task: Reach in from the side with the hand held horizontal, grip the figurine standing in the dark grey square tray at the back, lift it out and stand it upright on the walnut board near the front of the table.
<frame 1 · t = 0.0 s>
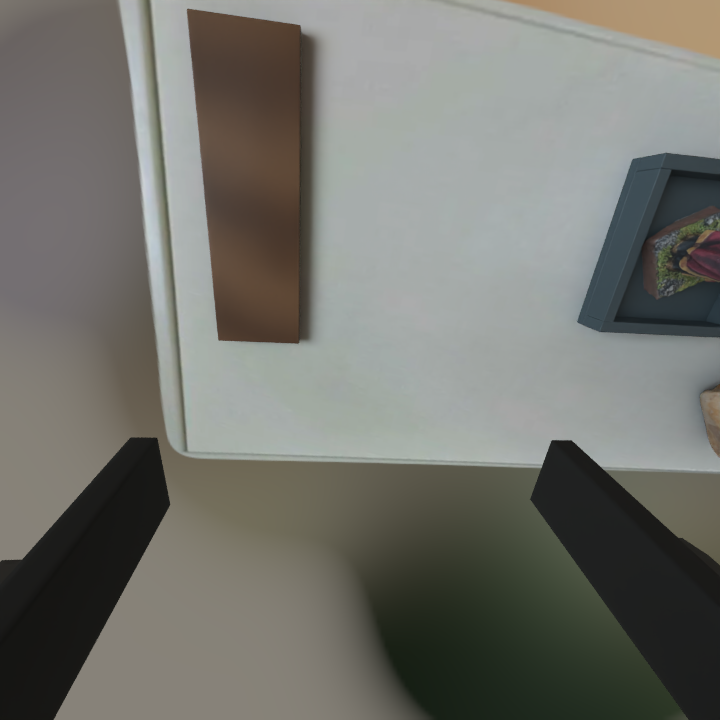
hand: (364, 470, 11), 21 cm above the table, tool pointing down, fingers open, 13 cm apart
dark grey square tray: (670, 253, 31), on the table
board: (255, 207, 26), on the table
figurine: (676, 254, 30), point 1 cm above the table, touching dark grey square tray
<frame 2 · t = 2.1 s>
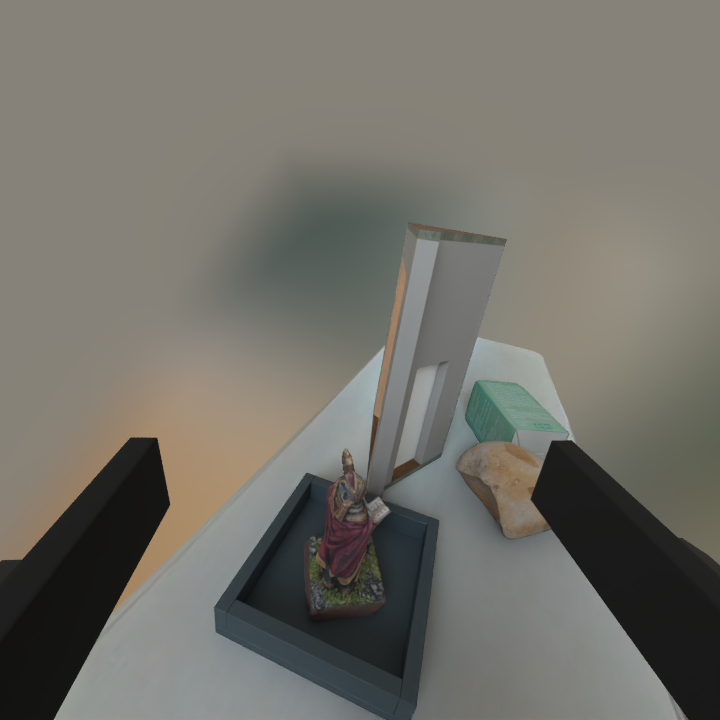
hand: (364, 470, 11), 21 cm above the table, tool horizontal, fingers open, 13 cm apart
dark grey square tray: (341, 579, 28), on the table
cabinet: (405, 454, 45), on the table
figurine: (342, 575, 28), point 1 cm above the table, touching dark grey square tray
stone: (508, 510, 38), on the table
box: (500, 444, 50), on the table
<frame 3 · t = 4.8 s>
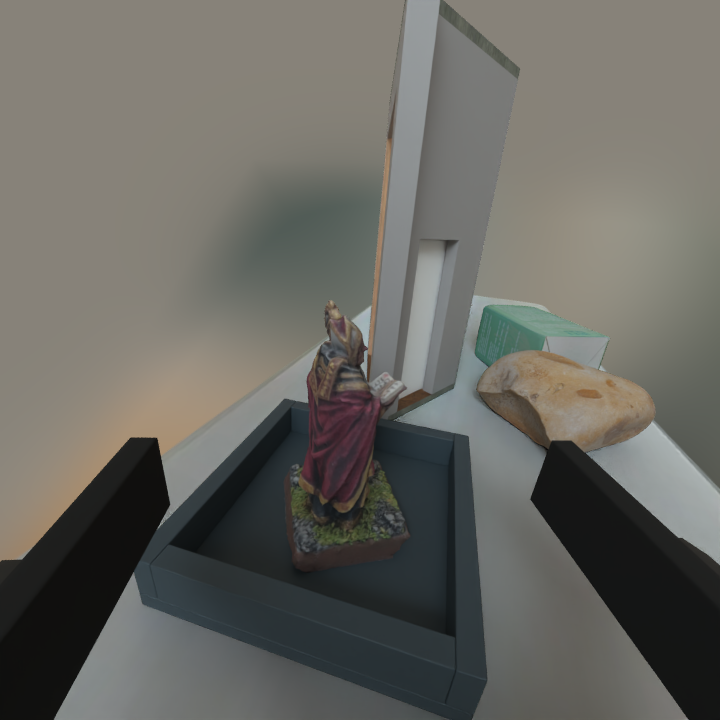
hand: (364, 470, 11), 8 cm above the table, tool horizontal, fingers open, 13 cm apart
dark grey square tray: (340, 520, 20), on the table
cabinet: (410, 388, 36), on the table
figurine: (341, 512, 19), point 1 cm above the table, touching dark grey square tray
stone: (548, 433, 30), on the table
box: (521, 375, 42), on the table
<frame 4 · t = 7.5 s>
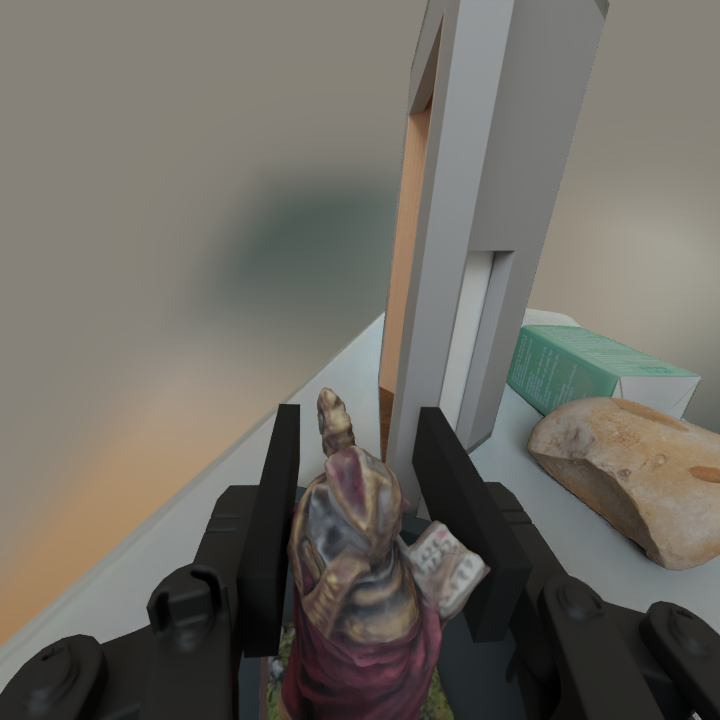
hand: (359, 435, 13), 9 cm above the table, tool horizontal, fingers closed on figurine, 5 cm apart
cabinet: (436, 437, 28), on the table
figurine: (355, 718, 11), point 1 cm above the table, touching dark grey square tray, gripper
stone: (630, 513, 22), on the table
box: (569, 414, 34), on the table
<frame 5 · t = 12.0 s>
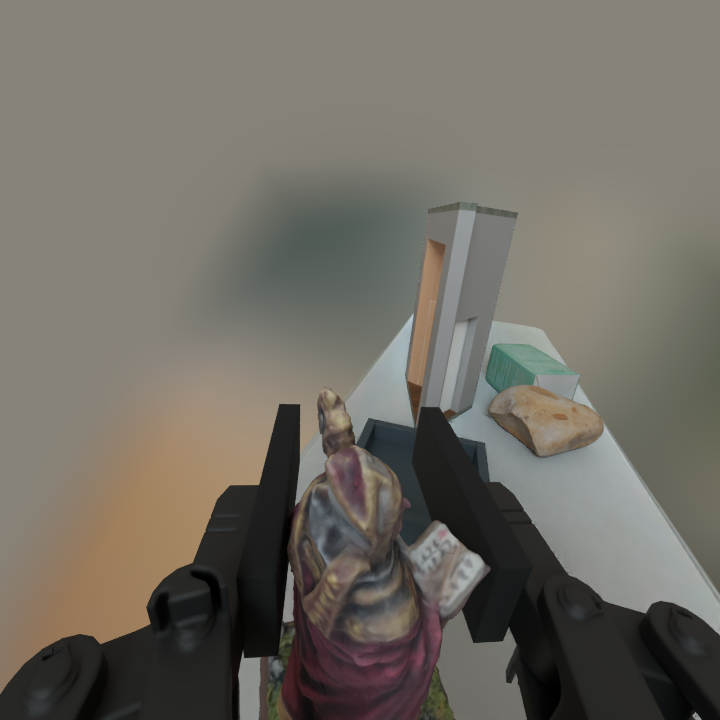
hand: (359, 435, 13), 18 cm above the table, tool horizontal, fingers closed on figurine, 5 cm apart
dark grey square tray: (414, 489, 35), on the table
cabinet: (441, 407, 52), on the table
figurine: (355, 718, 11), point 10 cm above the table, touching gripper
stone: (536, 441, 45), on the table
box: (520, 397, 57), on the table
when the fingers open (9 cm above the table, at t = 16.7 s): figurine stays where it is, resting on board.
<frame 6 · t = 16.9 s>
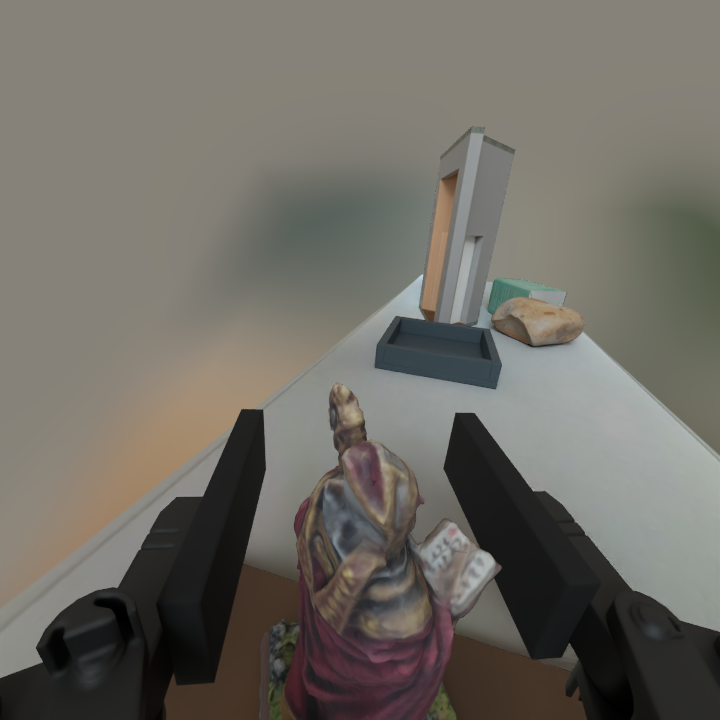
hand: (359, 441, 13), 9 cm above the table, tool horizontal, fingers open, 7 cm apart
dark grey square tray: (435, 356, 45), on the table
cabinet: (451, 323, 62), on the table
figurine: (356, 719, 11), point 1 cm above the table, touching board
stone: (530, 341, 56), on the table
box: (517, 321, 67), on the table
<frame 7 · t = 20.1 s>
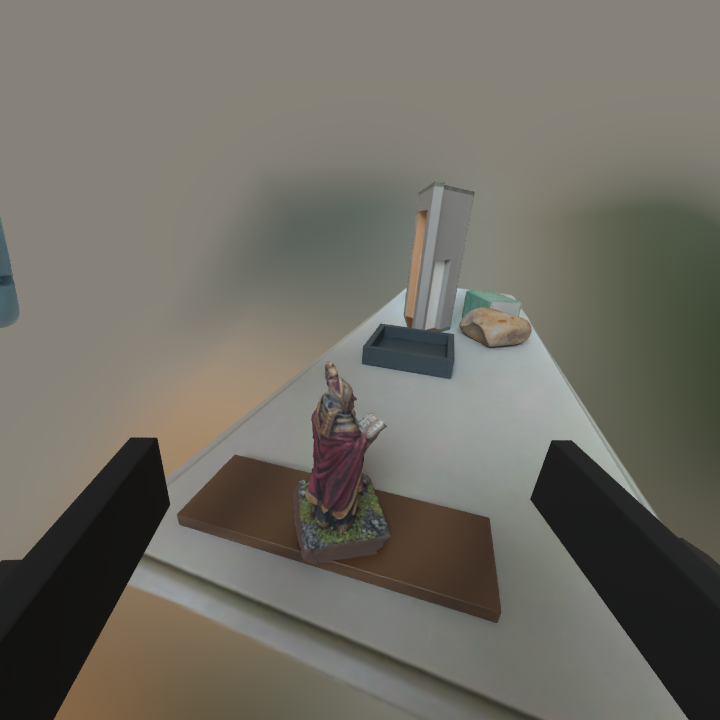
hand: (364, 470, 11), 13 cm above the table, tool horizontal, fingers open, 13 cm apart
dark grey square tray: (410, 355, 59), on the table
cabinet: (428, 329, 75), on the table
board: (338, 525, 25), on the table
figurine: (338, 518, 25), point 1 cm above the table, touching board
stone: (490, 343, 69), on the table
box: (485, 326, 81), on the table
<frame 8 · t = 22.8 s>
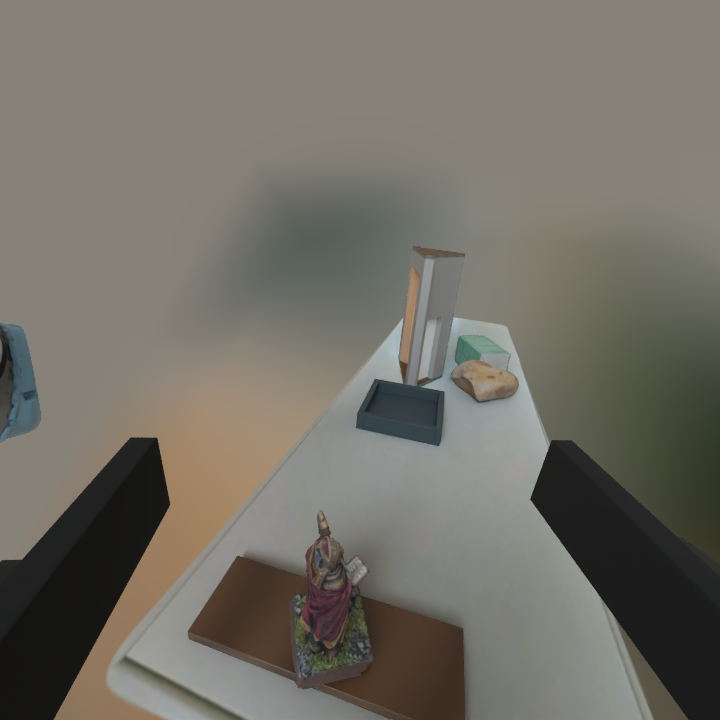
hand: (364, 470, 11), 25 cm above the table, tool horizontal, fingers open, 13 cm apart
dark grey square tray: (402, 415, 62), on the table
cabinet: (421, 376, 79), on the table
board: (329, 637, 28), on the table
figurine: (329, 632, 28), point 1 cm above the table, touching board
stone: (480, 394, 72), on the table
box: (476, 371, 84), on the table
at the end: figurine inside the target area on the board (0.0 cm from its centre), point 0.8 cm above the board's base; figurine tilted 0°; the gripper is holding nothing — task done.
